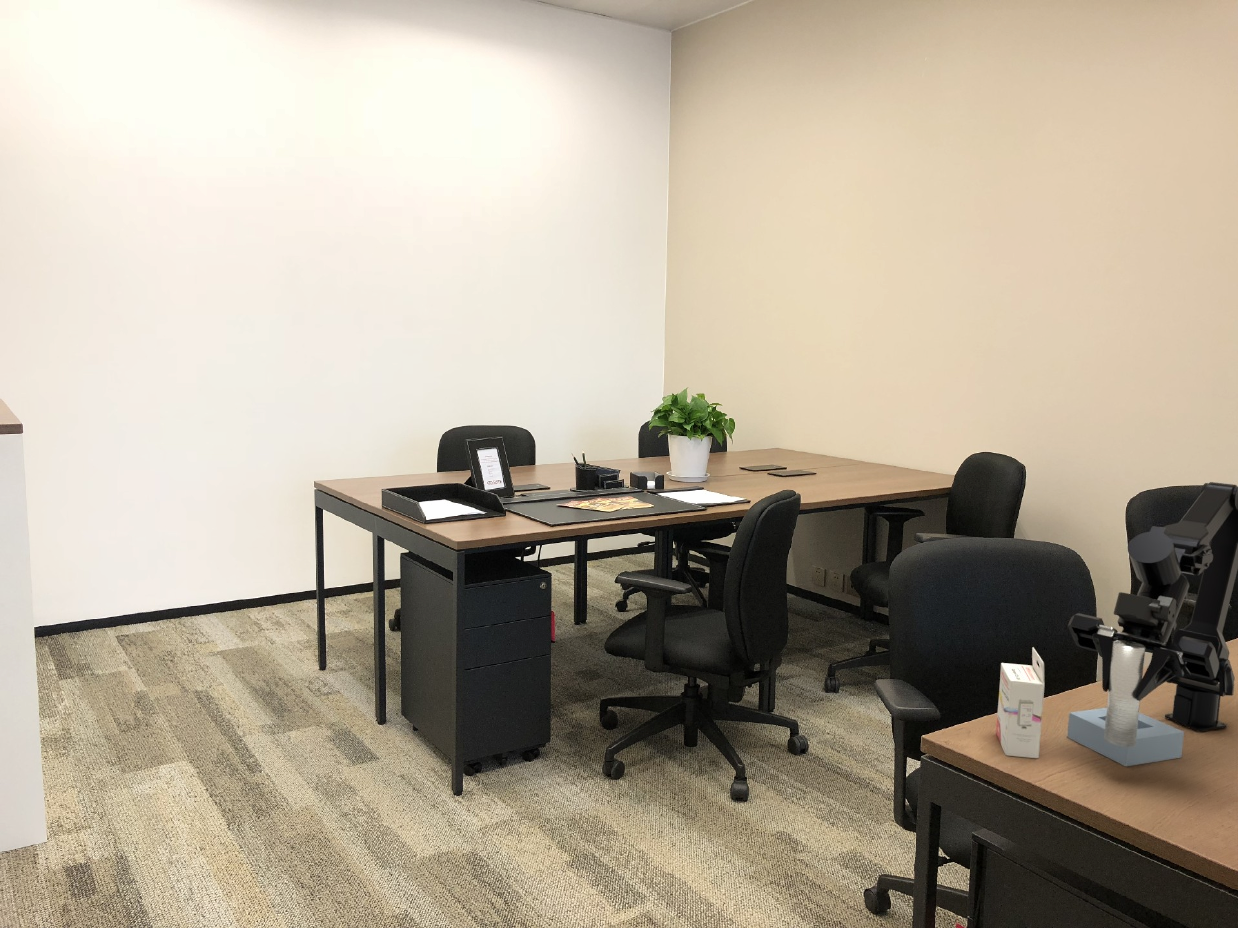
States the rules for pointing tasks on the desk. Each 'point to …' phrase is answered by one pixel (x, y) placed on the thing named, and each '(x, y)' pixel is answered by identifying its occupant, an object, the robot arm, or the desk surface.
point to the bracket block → (1150, 746)
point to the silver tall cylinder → (1124, 693)
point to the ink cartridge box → (1021, 708)
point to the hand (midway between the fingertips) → (1120, 694)
